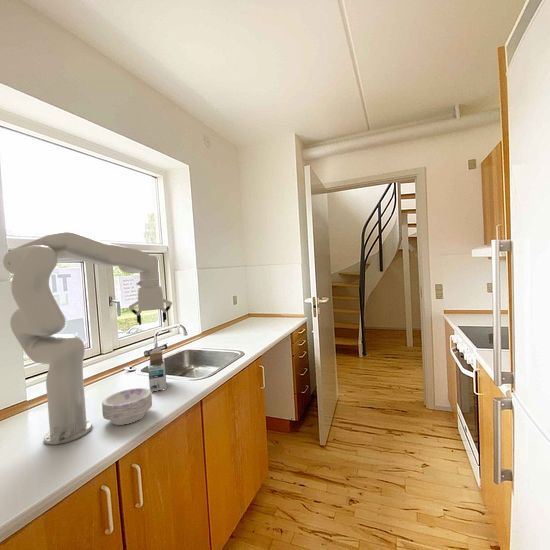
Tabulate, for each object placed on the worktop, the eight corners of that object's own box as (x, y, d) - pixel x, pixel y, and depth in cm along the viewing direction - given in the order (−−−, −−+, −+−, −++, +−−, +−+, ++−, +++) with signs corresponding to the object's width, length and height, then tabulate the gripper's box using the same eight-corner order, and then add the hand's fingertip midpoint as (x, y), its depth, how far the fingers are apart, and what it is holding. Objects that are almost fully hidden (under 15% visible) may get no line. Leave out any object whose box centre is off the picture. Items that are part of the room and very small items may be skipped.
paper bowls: (147, 404, 110) (146, 383, 110) (157, 419, 98) (155, 396, 98) (101, 417, 102) (100, 395, 101) (105, 436, 89) (103, 410, 89)
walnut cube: (162, 363, 125) (162, 352, 125) (150, 365, 123) (149, 354, 123) (162, 360, 130) (161, 349, 130) (150, 362, 128) (149, 351, 128)
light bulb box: (166, 390, 123) (165, 364, 123) (149, 393, 120) (147, 367, 120) (166, 381, 133) (164, 358, 133) (150, 384, 130) (148, 361, 130)
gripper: (126, 285, 119) (129, 327, 119) (171, 282, 126) (173, 321, 126) (128, 285, 126) (130, 324, 126) (170, 282, 133) (172, 319, 133)
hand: (152, 323), depth 126 cm, fingers open, 9 cm apart
